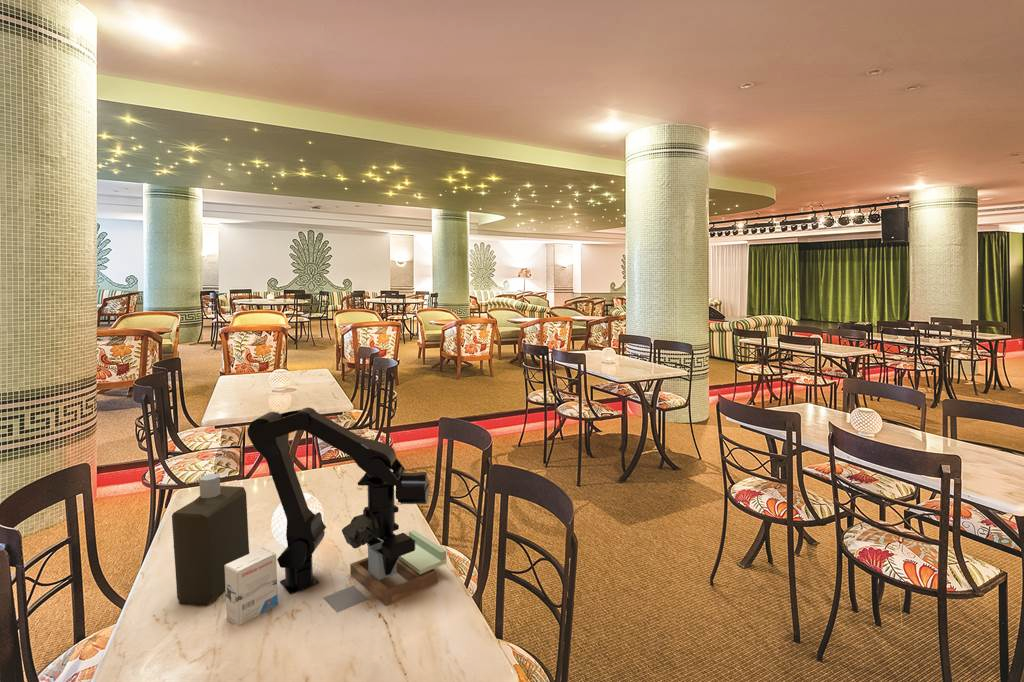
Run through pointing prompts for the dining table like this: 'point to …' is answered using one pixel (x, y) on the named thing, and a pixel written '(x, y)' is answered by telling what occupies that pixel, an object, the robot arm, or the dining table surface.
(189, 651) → the dining table surface
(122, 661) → the dining table surface
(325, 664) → the dining table surface
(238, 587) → the ink box
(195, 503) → the bottle
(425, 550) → the cover
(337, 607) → the mat
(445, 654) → the dining table surface
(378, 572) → the block
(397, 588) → the brown hollow rectangular piece
